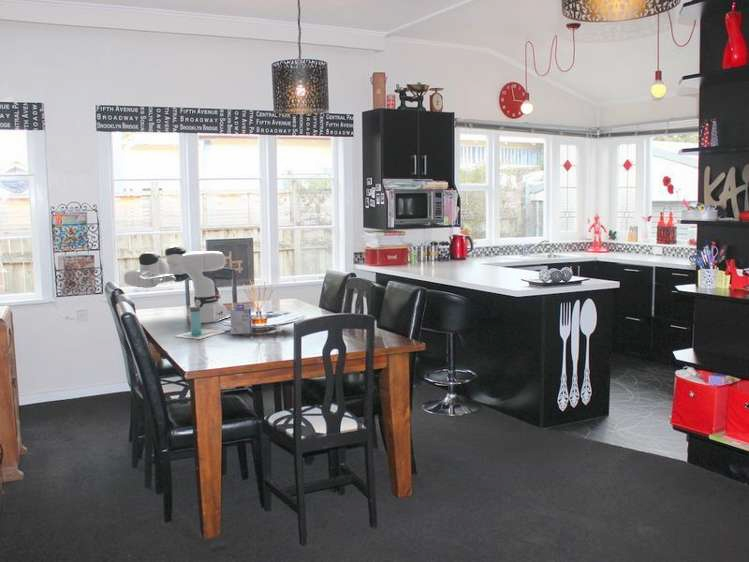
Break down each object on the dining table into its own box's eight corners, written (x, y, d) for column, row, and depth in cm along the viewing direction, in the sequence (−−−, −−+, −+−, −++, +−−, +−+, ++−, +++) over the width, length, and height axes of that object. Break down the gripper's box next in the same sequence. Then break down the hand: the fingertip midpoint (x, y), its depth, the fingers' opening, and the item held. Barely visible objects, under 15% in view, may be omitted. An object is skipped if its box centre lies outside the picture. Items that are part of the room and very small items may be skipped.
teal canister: (196, 333, 372) (194, 306, 370) (203, 333, 369) (202, 306, 367) (189, 334, 367) (187, 307, 366) (196, 335, 365) (195, 308, 363)
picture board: (200, 330, 383) (200, 328, 383) (225, 332, 374) (225, 330, 374) (174, 337, 366) (174, 336, 366) (199, 339, 358) (199, 338, 358)
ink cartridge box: (252, 331, 374) (250, 303, 372) (250, 333, 368) (248, 305, 366) (233, 332, 374) (231, 304, 372) (231, 334, 368) (229, 306, 366)
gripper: (163, 282, 389) (183, 283, 382) (134, 287, 372) (153, 288, 365) (163, 270, 388) (182, 271, 381) (133, 275, 371) (152, 276, 364)
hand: (168, 279), depth 373 cm, fingers open, 8 cm apart
